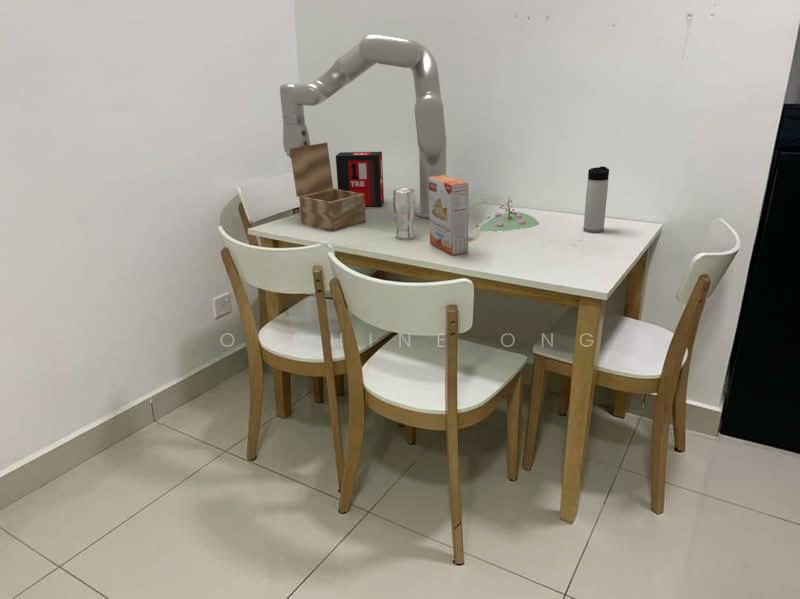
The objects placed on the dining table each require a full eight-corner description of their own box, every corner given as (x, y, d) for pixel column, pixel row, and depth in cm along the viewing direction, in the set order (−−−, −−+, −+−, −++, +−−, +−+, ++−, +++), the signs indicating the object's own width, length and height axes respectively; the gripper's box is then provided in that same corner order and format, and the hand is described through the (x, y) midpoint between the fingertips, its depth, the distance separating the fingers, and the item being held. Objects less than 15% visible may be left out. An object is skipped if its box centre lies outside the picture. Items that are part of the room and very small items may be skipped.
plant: (514, 238, 193) (516, 210, 190) (459, 229, 205) (459, 203, 201) (547, 220, 211) (549, 195, 208) (495, 213, 223) (495, 189, 220)
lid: (327, 142, 217) (325, 142, 218) (291, 148, 206) (289, 148, 206) (333, 188, 222) (331, 188, 223) (298, 196, 211) (296, 196, 212)
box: (366, 221, 215) (364, 193, 212) (332, 231, 205) (330, 202, 201) (335, 215, 226) (333, 188, 222) (301, 224, 215) (299, 196, 211)
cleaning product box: (339, 208, 237) (335, 155, 229) (343, 202, 245) (340, 152, 238) (381, 207, 235) (378, 155, 228) (384, 202, 243) (381, 151, 236)
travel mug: (607, 229, 196) (613, 167, 189) (597, 234, 192) (603, 170, 185) (589, 226, 200) (594, 165, 193) (579, 231, 196) (584, 168, 189)
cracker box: (428, 244, 188) (427, 176, 180) (445, 241, 190) (445, 174, 182) (450, 256, 176) (450, 184, 168) (468, 253, 178) (469, 181, 171)
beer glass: (391, 238, 195) (389, 192, 189) (398, 233, 201) (397, 187, 195) (411, 240, 192) (410, 193, 187) (418, 234, 198) (418, 188, 193)
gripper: (315, 120, 211) (320, 173, 218) (289, 119, 220) (294, 170, 227) (299, 123, 206) (304, 177, 213) (272, 121, 215) (277, 173, 222)
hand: (298, 173), depth 220 cm, fingers closed
